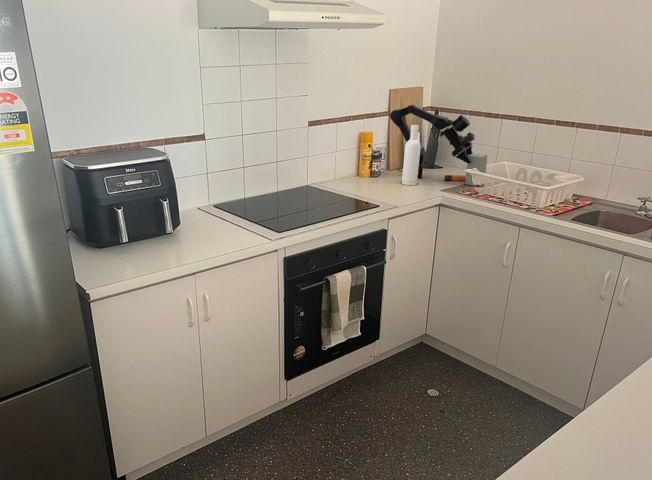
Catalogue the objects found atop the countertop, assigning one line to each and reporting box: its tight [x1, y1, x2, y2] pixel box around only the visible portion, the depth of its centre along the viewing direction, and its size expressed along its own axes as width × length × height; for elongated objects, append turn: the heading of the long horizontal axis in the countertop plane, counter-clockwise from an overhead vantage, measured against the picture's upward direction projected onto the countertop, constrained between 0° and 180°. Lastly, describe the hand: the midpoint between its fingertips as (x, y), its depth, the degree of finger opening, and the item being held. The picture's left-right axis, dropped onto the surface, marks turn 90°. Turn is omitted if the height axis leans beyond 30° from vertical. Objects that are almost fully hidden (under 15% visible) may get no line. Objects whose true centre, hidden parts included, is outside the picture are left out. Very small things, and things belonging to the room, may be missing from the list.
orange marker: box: [443, 174, 466, 182], centre depth 297 cm, size 14×3×3 cm, turn 90°
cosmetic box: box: [464, 152, 488, 187], centre depth 286 cm, size 8×7×16 cm
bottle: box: [401, 124, 422, 186], centre depth 285 cm, size 8×8×30 cm
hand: (472, 161), depth 286 cm, fingers open, 9 cm apart
